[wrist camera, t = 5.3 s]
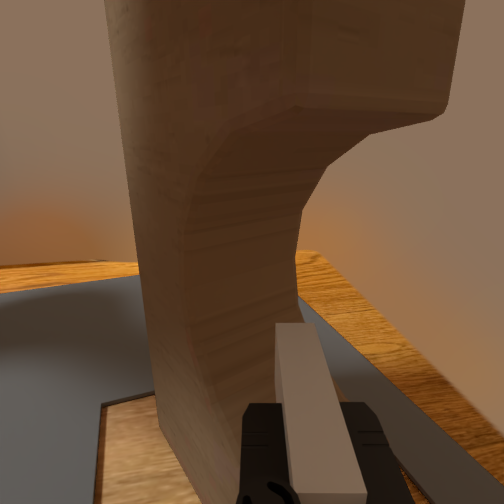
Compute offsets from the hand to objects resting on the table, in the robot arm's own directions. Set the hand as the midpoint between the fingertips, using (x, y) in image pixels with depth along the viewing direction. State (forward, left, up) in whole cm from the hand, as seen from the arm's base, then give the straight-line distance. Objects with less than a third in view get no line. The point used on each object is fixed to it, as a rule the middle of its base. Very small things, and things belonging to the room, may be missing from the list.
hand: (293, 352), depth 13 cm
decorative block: (-6, 0, -14) cm, 15 cm away
